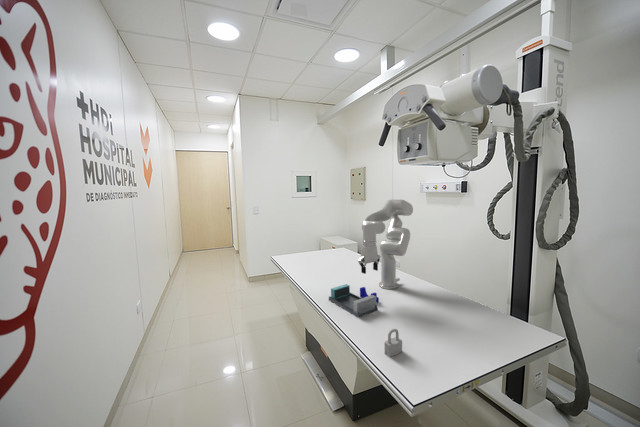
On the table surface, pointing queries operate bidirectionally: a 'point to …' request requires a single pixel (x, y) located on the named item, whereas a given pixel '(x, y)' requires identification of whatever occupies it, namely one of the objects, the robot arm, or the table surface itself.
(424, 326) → the table surface
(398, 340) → the padlock
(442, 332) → the table surface
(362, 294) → the blue curved block
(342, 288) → the block
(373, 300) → the vise base
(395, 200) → the robot arm
